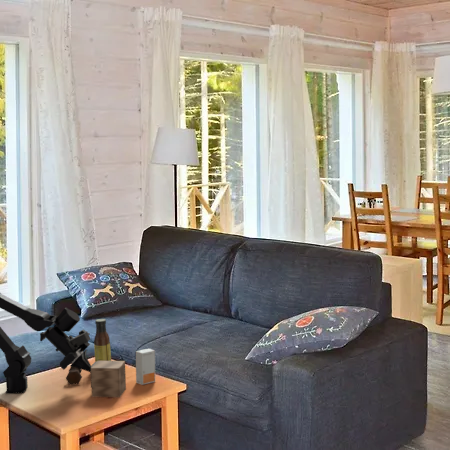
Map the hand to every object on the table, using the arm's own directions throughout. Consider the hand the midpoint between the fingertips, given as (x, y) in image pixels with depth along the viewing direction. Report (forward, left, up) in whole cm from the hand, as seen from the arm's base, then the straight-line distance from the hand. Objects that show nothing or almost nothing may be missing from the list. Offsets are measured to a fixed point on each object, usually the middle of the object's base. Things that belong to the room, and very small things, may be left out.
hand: (92, 371), depth 259 cm
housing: (+6, -1, -8) cm, 10 cm away
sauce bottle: (0, +28, -8) cm, 29 cm away
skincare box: (+18, +10, -8) cm, 22 cm away
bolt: (-9, +17, -8) cm, 21 cm away
